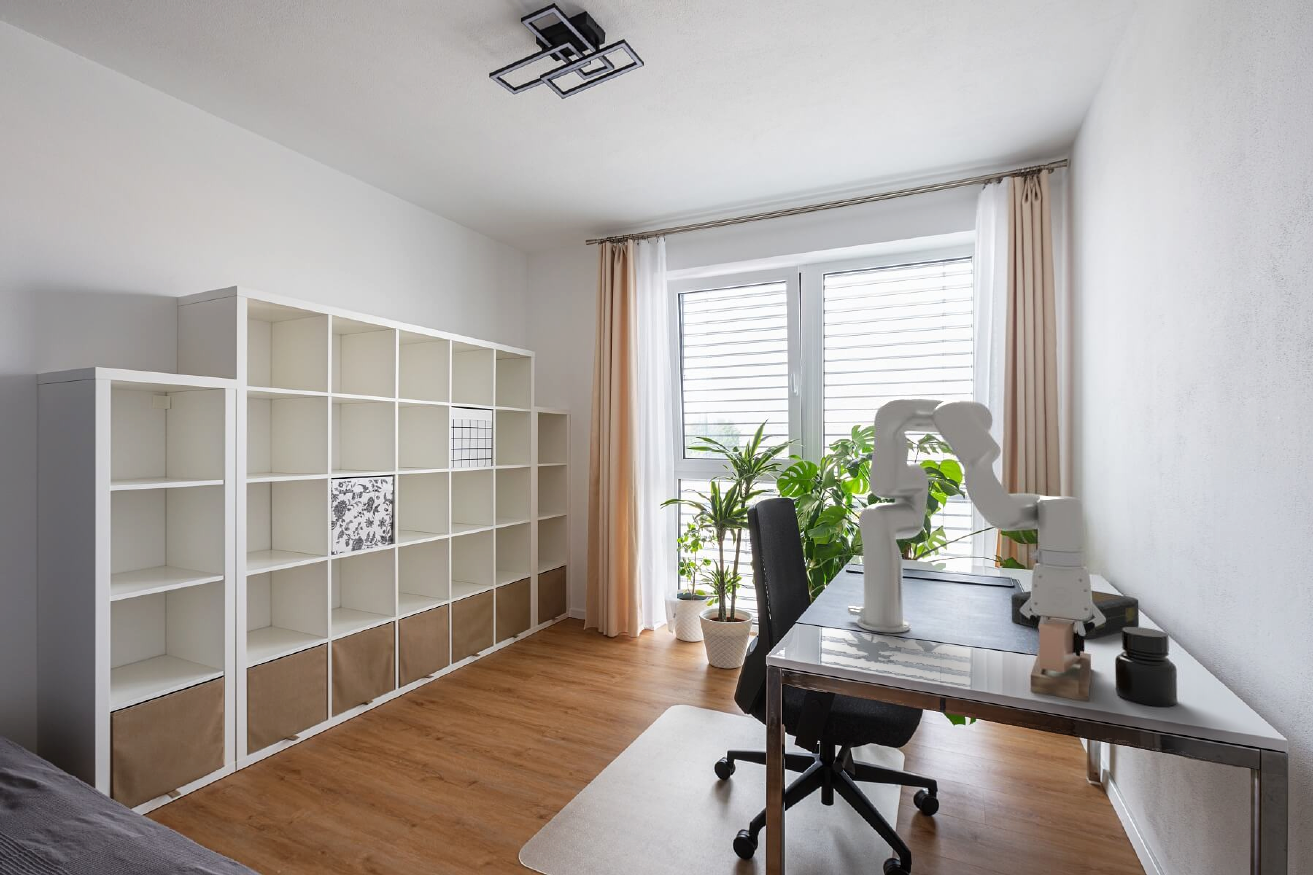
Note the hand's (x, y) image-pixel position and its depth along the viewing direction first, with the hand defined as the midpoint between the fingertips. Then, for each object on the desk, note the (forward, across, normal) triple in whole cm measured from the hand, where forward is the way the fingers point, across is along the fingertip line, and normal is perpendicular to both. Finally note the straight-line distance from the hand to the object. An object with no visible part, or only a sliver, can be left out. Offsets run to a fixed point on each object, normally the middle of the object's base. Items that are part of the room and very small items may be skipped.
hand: (1062, 651), depth 128 cm
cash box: (+6, 0, +52) cm, 52 cm away
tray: (+6, 0, 0) cm, 6 cm away
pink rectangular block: (+2, 0, 0) cm, 2 cm away
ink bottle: (+6, +13, -3) cm, 14 cm away
